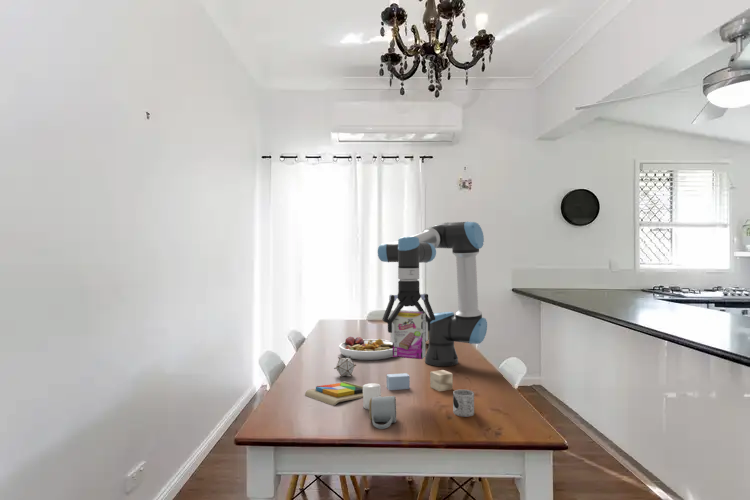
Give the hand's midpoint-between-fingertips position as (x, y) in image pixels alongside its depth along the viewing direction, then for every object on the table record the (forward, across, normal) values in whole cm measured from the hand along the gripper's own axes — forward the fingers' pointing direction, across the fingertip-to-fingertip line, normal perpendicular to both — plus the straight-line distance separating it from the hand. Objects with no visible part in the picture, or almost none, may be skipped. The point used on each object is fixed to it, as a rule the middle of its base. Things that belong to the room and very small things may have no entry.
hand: (409, 341), depth 170 cm
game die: (+20, -18, +33) cm, 43 cm away
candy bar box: (+6, 0, 0) cm, 6 cm away
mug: (+20, +12, -21) cm, 32 cm away
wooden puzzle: (+21, -24, +9) cm, 33 cm away
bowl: (+21, 0, +71) cm, 74 cm away
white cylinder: (+20, -15, -7) cm, 26 cm away
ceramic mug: (+20, -15, -22) cm, 33 cm away
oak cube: (+20, +15, +8) cm, 26 cm away
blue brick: (+20, -1, +12) cm, 24 cm away
